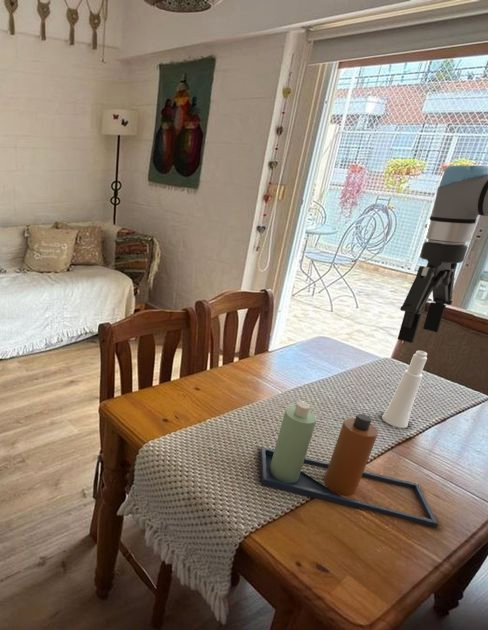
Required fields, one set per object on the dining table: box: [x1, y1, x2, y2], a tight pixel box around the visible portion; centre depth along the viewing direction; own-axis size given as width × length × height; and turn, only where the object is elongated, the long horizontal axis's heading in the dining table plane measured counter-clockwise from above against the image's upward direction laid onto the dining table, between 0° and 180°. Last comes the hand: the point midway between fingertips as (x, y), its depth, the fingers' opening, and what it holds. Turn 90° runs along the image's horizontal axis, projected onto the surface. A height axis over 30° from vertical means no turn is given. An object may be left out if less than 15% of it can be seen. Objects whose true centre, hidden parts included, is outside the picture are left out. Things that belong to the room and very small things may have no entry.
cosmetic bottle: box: [381, 350, 428, 429], centre depth 113 cm, size 6×6×22 cm
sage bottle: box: [270, 400, 318, 483], centre depth 95 cm, size 6×6×18 cm
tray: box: [259, 446, 439, 528], centre depth 95 cm, size 32×11×2 cm, turn 70°
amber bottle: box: [323, 412, 379, 497], centre depth 91 cm, size 6×6×18 cm
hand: (418, 335), depth 100 cm, fingers open, 13 cm apart
